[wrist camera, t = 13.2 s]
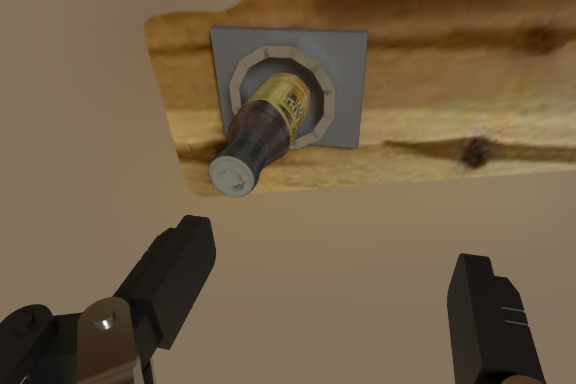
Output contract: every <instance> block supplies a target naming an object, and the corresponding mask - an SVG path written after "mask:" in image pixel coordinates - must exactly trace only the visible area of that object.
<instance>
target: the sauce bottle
mask: <svg viewBox="0 0 576 384" xmlns="http://www.w3.org/2000/svg"><path fill="white" fill-rule="evenodd" d="M310 103H311V92H310V89H309V86H308V84H307V82H306V81H305V79H304V78H302V77H301V76H300V75H297V74H295V73H293V72H291V71H282V72H278V73H276V74H273V75H272V76H270V77H269V78H267V79H266V80H265V82H264V83H263V84H262V85H261V86H260V87H259V88H258V89H257V91H256V92H255V93H254V94H253V95H252V96H251V97H250V98H249V100H248V101H247V102H246V103H245V104H244V105H243V106H242V107H241V108H240V110H239V111H238V113H237V114H236V115H235V116H234V118H233V119H232V121H231V122H230V124H229V127H228V131H227V138H226V139H227V147H226V148H225V149H224V150H223V151H221V152H219V153H218V154H217V155H216V156H215V157H214V159H213V160H212V162H211V163H210V165H209V169H208V174H209V177H210V181H211V183H212V184H213V186H214V187H215V188H216V189H217V190H219V191H220V192H221V193H223V194H224V195H227V196H230V197H243V196H245V195H247V194H248V193H250V192H251V191H252V190H253V188H254V187H255V186H256V184H257V182H258V180H259V174H260V172H261V170H262V169H263V168H264V167H266V166H267V165H269V164H271V163H272V162H274V161H276V160H277V159H279V158H280V157H282V156H284V155H285V154H286V153H287V151H288V150H289V148H290V146H291V144H292V142H293V140H294V138H295V136H296V135H297V133H298V131H299V129H300V127H301V125H302V123H303V121H304V119H305V117H306V115H307V113H308V111H309V108H310Z"/></svg>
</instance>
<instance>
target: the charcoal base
mask: <svg viewBox="0 0 576 384" xmlns="http://www.w3.org/2000/svg"><path fill="white" fill-rule="evenodd" d="M210 33H211V40H212V47H213V54H214V62H215V69H216V76H217V83H218V90H219V97H220V104H221V111H222V118H223V125H224V132H225V137H227V131H228V127H229V124H230V122H231V121H232V119H233V118H234V116H235V114H234V113H233V111H232V104H231V96H230V88H229V83H230V81H231V79H232V77H233V74H234V72H235V70H236V68H237V66H238V63H239V61H240V59H241V58H242V57H244V56H245V55H246V54H247V53H248V52H249V51H251V50H252V49H254V48H256V47H257V46H259V45H261V44H262V43H264V42H266V41H267V40H269V39H271V38H286V39H301V40H302V41H304V42H306V43H307V44H309V45H310V46H312V47H313V48H315V49H316V50H318V51H320V52H321V53H323V54H324V55H326V57H327V59H328V61H329V63H330V65H331V67H332V69H333V71H334V73H335V75H336V76H337V78H338V80H339V90H338V108H337V112H336V115H335V118H334V119H333V121H332V122H331V124H330V125H329V127H328V128H327V129H326V131H325V132H324V134H323V135H322V137H321V138H320V140H317V141H315V142H312V143H310V144H313V145H325V146H336V147H347V148H358V144H359V132H360V121H361V110H362V98H363V87H364V76H365V64H366V53H367V42H368V31H367V30H332V29H296V28H261V27H226V26H213V27H212V28H210ZM282 71H291V72H293V73H295V74H297V75H300V76H301V77H302V78H304V79H305V81H306V82H307V84H308V86H309V89H310V92H311V103H310V108H309V111H308V113H307V115H306V117H305V119H304V121H303V123H302V125H301V127H300V129H301V128H303V127H305V126H307V125H310V124H312V123H314V122H316V121H317V120H318V119H319V117H320V116H321V114H322V113H323V111H324V91H323V89H322V88H321V86H320V84H319V82H318V80H317V79H316V77H315V75H314V73H313V71H311V70H309V69H308V68H306V67H305V66H303V65H301V64H300V63H298V62H297V61H295V60H294V59H292V58H277V57H267V58H265V59H263V60H262V61H260V62H258V63H256V64H255V65H253V68H252V70H251V72H250V74H249V76H248V78H247V81H248V92H249V98H250V97H251V96H252V95H253V94H254V93H255V92H256V91H257V89H258V88H259V87H260V86H261V85H262V84H263V83H264V82H265V80H266V79H267V78H269V77H270V76H272V75H273V74H276V73H278V72H282Z"/></svg>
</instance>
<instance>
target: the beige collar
mask: <svg viewBox="0 0 576 384" xmlns="http://www.w3.org/2000/svg"><path fill="white" fill-rule="evenodd" d="M267 57H277V58H292V59H294V60H295V61H297V62H298V63H300V64H301V65H303V66H305V67H306V68H308V69H309V70H311V71H313V73H314V75H315V77H316V79H317V80H318V82H319V84H320V86H321V88H322V89H323V91H324V111H323V113H322V114H321V116H320V117H319V119H318V120H317V121H316V122H314V123H312V124H310V125H307V126H305V127H303V128H301V129H299V131H298V133H297V135H296V136H295V138H294V140H293V142H292V144H291V146H290V148H289V149H298V148H301V147H303V146H305V145H308V144H310V143H312V142H315V141H317V140H320V138H321V137H322V135H323V134H324V132H325V131H326V129H327V128H328V127H329V125H330V124H331V122H332V121H333V119H334V118H335V115H336V112H337V108H338V90H339V80H338V78H337V76H336V75H335V73H334V71H333V69H332V67H331V65H330V63H329V61H328V59H327V57H326V55H324V54H323V53H321V52H320V51H318V50H316V49H315V48H313V47H312V46H310V45H309V44H307V43H306V42H304V41H302V40H301V39H286V38H271V39H269V40H267V41H266V42H264V43H262V44H261V45H259V46H257V47H256V48H254V49H252V50H251V51H249V52H248V53H247V54H246V55H245V56H244V57H242V58H241V59H240V61H239V63H238V66H237V68H236V70H235V72H234V74H233V77H232V79H231V81H230V83H229V88H230V96H231V104H232V111H233V113H234V114H235V115H236V114H237V113H238V111H239V110H240V108H241V107H242V106H243V105H244V104H245V103H246V102H247V101H248V100H249V92H248V81H247V78H248V76H249V74H250V72H251V70H252V68H253V65H255V64H256V63H258V62H260V61H262V60H263V59H265V58H267Z"/></svg>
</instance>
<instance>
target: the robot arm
mask: <svg viewBox="0 0 576 384" xmlns="http://www.w3.org/2000/svg"><path fill="white" fill-rule="evenodd" d="M215 259H216V248H215V242H214V237H213V232H212V228H211V222H210V220H209V218H207V217H200V216H192V215H186V216H184V217H183V219H182V220H181V222H180V223H179V224H178V226H177V227H176V228H169V229H167V230H166V231H165V232H163V233H162V234H161V235H159V236H157V237H156V239H155V240H154V241H153V243H152V244H151V246H150V247H149V248H148V251H146V252H145V253H144V255H143V256H142V258H141V260H139V262H138V263H137V264H136V266H135V267H134V268H133V270H132V271H131V272H130V274H129V275H128V276H127V278H126V279H125V280H124V282H123V283H122V284H121V286H120V287H119V289H118V290H117V291H116V292H115V294H114V295H113V296H112V297H108V298H104V299H101V300H99V301H97V302H95V303H93V304H92V305H90V306H89V307H88V308H87V309H86V310H85V311H84V312H82V313H75V314H66V315H57V316H53V315H52V313H51V311H50V310H49V308H47V307H46V306H44V305H40V304H34V305H29V306H25V307H23V308H20V309H18V310H16V311H14V312H13V313H11V314H10V315H9V316H7V317H6V318H5V319H4V320H3V321H2V322H1V323H0V384H20V383H21V382H22V380H23V379H24V378H25V376H26V379H25V380H24V381H23V383H22V384H156V378H155V372H154V366H153V360H152V355H153V354H154V352H155V350H156V348H157V347H158V348H163V349H167V350H170V348H171V346H172V344H173V342H174V340H175V338H176V337H177V335H178V333H179V331H180V329H181V327H182V325H183V323H184V321H185V319H186V318H187V315H188V314H189V312H190V310H191V308H192V306H193V304H194V302H195V300H196V299H197V297H198V295H199V293H200V291H201V289H202V287H203V285H204V283H205V281H206V280H207V278H208V276H209V274H210V272H211V270H212V268H213V266H214V262H215ZM447 309H448V318H449V328H450V337H451V347H452V356H453V366H454V374H455V384H546V381H545V379H544V376H543V373H542V369H541V365H540V362H539V359H538V355H537V352H536V348H535V345H534V342H533V338H532V335H531V332H530V328H529V327H528V321H527V318H526V314H525V313H524V308H523V304H522V301H521V298H520V294H519V292H518V291H517V290H516V289H515V287H514V286H513V285H512V283H511V282H510V281H509V280H508V279H507V278H504V277H498V276H494V274H493V269H492V265H491V261H490V259H489V258H488V257H485V256H478V255H471V254H462V253H461V254H460V255H459V258H458V260H457V263H456V267H455V270H454V273H453V276H452V279H451V282H450V285H449V289H448V296H447Z"/></svg>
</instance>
